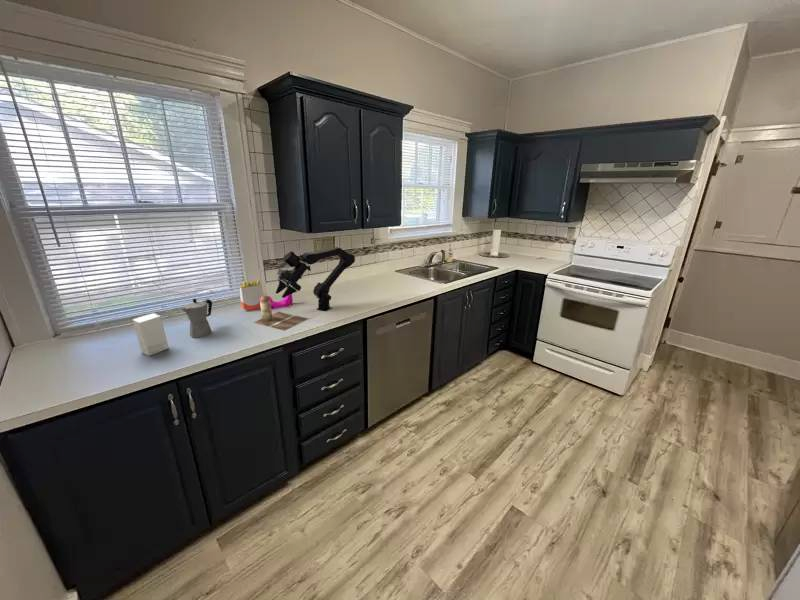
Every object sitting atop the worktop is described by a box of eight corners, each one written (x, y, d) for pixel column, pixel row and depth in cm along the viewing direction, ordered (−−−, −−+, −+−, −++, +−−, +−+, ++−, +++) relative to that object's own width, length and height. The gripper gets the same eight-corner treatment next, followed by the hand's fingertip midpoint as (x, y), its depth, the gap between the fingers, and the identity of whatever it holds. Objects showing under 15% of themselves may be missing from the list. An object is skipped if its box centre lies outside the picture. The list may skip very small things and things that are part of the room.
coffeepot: (196, 341, 149) (189, 304, 144) (181, 338, 152) (173, 302, 146) (223, 328, 163) (217, 294, 158) (208, 326, 166) (202, 292, 160)
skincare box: (162, 345, 145) (154, 312, 140) (169, 348, 142) (162, 315, 137) (140, 352, 138) (131, 318, 133) (148, 356, 135) (139, 322, 130)
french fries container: (241, 311, 187) (237, 281, 181) (260, 307, 194) (257, 277, 188) (244, 313, 184) (240, 282, 178) (263, 309, 191) (260, 279, 185)
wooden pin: (267, 317, 176) (264, 293, 171) (274, 319, 174) (271, 295, 169) (260, 320, 171) (257, 296, 167) (267, 322, 169) (264, 297, 165)
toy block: (269, 311, 188) (267, 299, 185) (265, 308, 192) (264, 296, 190) (294, 306, 197) (293, 294, 194) (290, 303, 201) (289, 292, 199)
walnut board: (278, 313, 185) (278, 311, 184) (309, 320, 176) (309, 318, 175) (252, 324, 169) (252, 322, 169) (284, 332, 160) (284, 330, 160)
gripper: (279, 260, 178) (261, 282, 175) (293, 266, 164) (273, 291, 161) (294, 272, 185) (277, 294, 182) (309, 279, 172) (290, 302, 168)
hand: (279, 295), depth 173 cm, fingers open, 9 cm apart
